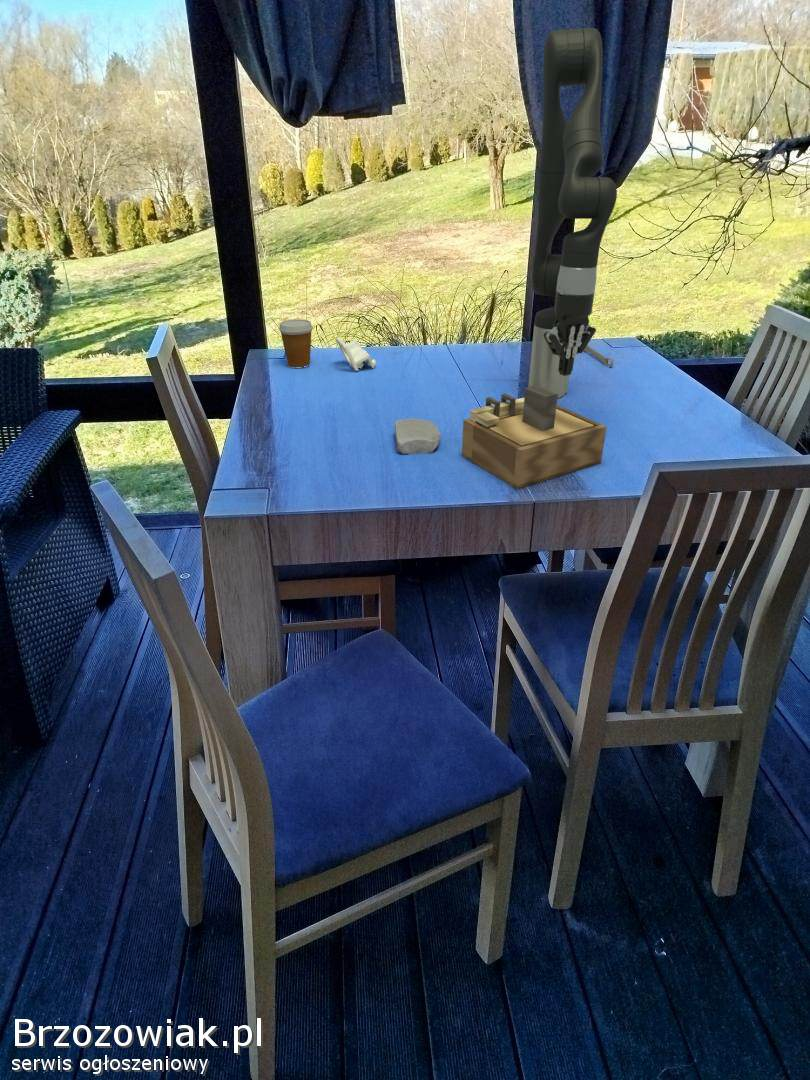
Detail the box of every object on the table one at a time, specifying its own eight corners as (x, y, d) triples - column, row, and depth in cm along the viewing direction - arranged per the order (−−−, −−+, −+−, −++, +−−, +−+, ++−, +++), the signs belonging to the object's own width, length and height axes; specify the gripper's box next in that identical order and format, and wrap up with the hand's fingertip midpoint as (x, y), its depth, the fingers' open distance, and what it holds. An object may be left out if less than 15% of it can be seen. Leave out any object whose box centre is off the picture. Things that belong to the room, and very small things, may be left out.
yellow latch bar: (539, 401, 147) (541, 389, 145) (559, 410, 142) (560, 397, 141) (468, 419, 138) (469, 405, 137) (486, 428, 134) (487, 415, 132)
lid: (551, 411, 145) (555, 374, 141) (593, 430, 136) (599, 391, 132) (481, 428, 137) (483, 390, 132) (521, 450, 128) (525, 409, 123)
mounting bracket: (348, 367, 201) (332, 335, 195) (367, 356, 202) (351, 324, 195) (360, 379, 192) (343, 345, 185) (379, 368, 192) (363, 334, 186)
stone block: (433, 439, 155) (390, 433, 153) (438, 420, 152) (394, 413, 150) (440, 463, 145) (394, 457, 143) (445, 443, 142) (399, 436, 140)
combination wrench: (614, 357, 192) (584, 337, 208) (610, 357, 192) (580, 337, 208) (612, 370, 194) (583, 349, 210) (608, 370, 194) (579, 349, 210)
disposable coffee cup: (286, 372, 191) (282, 328, 185) (279, 362, 199) (274, 320, 192) (319, 368, 194) (316, 325, 188) (310, 359, 202) (307, 317, 195)
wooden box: (541, 434, 152) (547, 383, 146) (600, 463, 139) (609, 409, 133) (461, 455, 142) (464, 402, 136) (517, 489, 129) (522, 432, 123)
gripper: (586, 283, 142) (575, 365, 151) (537, 289, 136) (529, 374, 145) (613, 289, 137) (600, 374, 146) (563, 296, 131) (553, 384, 140)
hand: (564, 374), depth 145 cm, fingers closed
